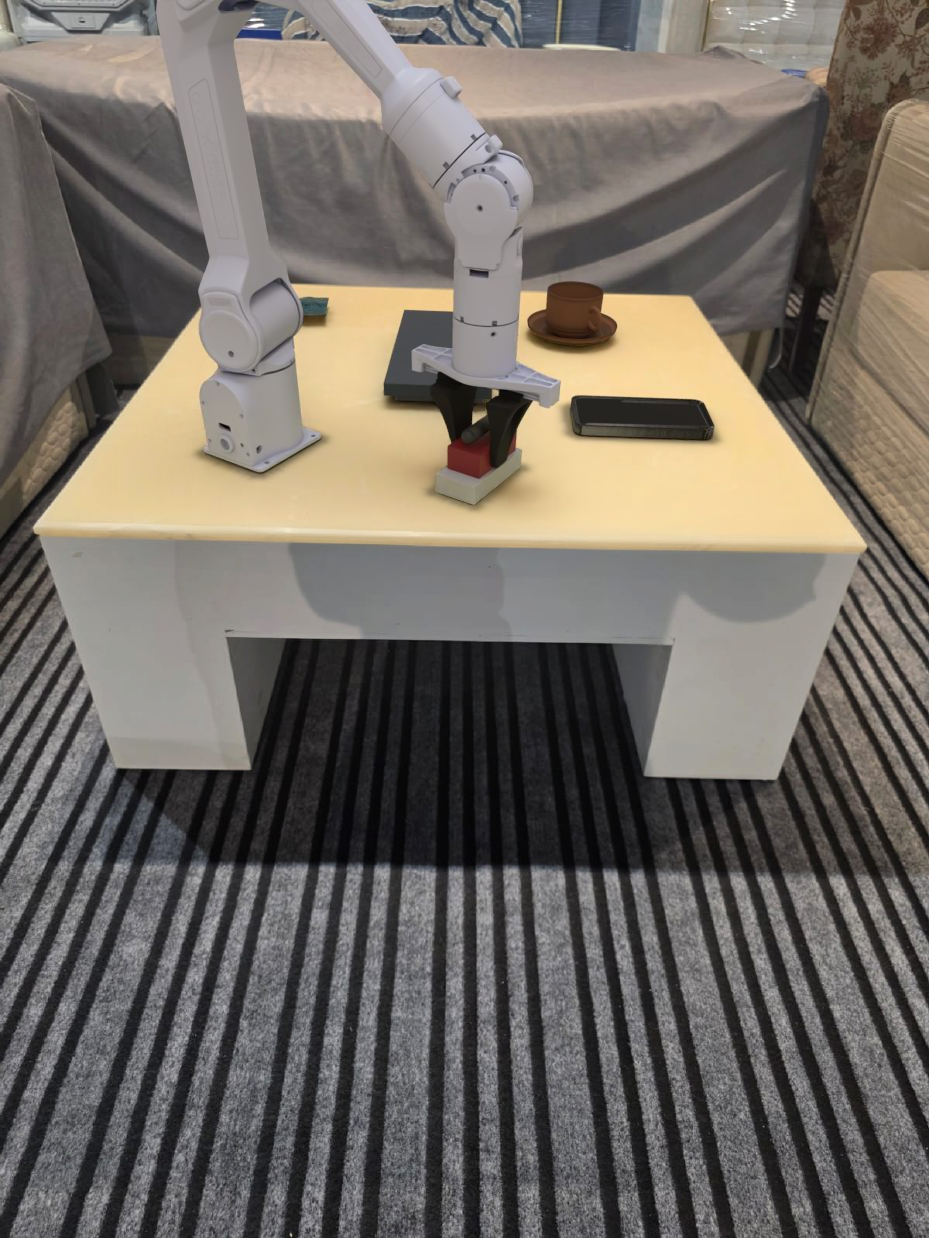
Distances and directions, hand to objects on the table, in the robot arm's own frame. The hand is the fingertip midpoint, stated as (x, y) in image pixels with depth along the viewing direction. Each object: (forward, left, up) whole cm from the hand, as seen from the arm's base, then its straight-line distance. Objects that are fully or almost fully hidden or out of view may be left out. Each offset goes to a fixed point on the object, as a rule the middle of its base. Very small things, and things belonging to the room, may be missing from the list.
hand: (480, 457), depth 80 cm
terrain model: (+23, +46, -3) cm, 51 cm away
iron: (0, 0, -2) cm, 2 cm away
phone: (+21, -8, -2) cm, 23 cm away
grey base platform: (+21, +18, -2) cm, 28 cm away
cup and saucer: (+40, +10, -3) cm, 41 cm away
